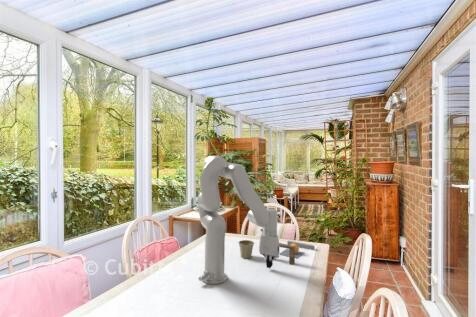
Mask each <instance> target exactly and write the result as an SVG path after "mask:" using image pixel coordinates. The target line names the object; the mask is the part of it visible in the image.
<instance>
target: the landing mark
mask: <svg viewBox="0 0 476 317" xmlns="http://www.w3.org/2000/svg"><path fill="white" fill-rule="evenodd" d="M303 253H304V254H305V252H304V251H300V250H299V251H298V252H297V253H296V254H295V259H299V258H300V257H301V256H303V255H304V254H303ZM279 256H285V257H289V249H287V248H285V249H284V250H283V251H281V252H279Z"/></svg>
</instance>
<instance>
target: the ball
mask: <svg viewBox="0 0 476 317" xmlns="http://www.w3.org/2000/svg"><path fill="white" fill-rule="evenodd" d="M291 245H292V246H295V254H296V253H297V252H298V251H300V247H298V245H297V244H291Z"/></svg>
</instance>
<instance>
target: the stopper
mask: <svg viewBox="0 0 476 317" xmlns="http://www.w3.org/2000/svg"><path fill="white" fill-rule="evenodd" d="M286 244H287V245H291V244H297V245H298V247H299V249H300V248H301V249H305V250H310V249H311V251H315V248H316V247H315V246H316V245H313V244H307V243H303V242H297V241H294V240H293V241H292V240H287V243H286Z"/></svg>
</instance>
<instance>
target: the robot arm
mask: <svg viewBox="0 0 476 317" xmlns="http://www.w3.org/2000/svg"><path fill="white" fill-rule="evenodd" d="M203 166H204V167H203V168H202V171H201V173H200V178H199V184H200V186H199V187H200V193H199V194H198V196H197V208H198V215H199V220H200V223H201V226H202V227H203V228H204V229H205V230H206V231H205V239H204V271H203V274H201V276H199V277H198V280H199V281H200V282H204V283H205V284H208V285H209V284H210V285H219V284H223V283H225V282H226V281H227V280H228V274H227V273H226V272H225V250H226V249H225V248H226V247H225V245H226V244H225V241H226V238H225V237H226V232H227V231H226V230H227V222H226V220H225V218H224V217H223V216H222V215H221V214H220V213H218V211H219V209H220V208H221V197H220V196H221V195H220V189H219V177H222V178H225V179H227V180H230V181H231V183H232V185H233V188H234V190H235V192H236V195H237V196H238V198H239V199H240V200H241V201H242V202H243V203H244V204H245V205H246V206H247V207H248V208H249V210H248V212H247V215H246V217H247V219H248V221H249V222H250V223H252V224H254V225H256V226H257V227H260V228H261V229H260V232H262V233H261V234H260V238H259V246H258V252H259V254H260V255H262V256H263V257H264V259H265V266H266V268H267V269H268V268H269V269H271V268H272V267H273V266H274V264H273V262H274V259H279V257H280V255H279V254H280V247H279V243H280V241H279V240H280V239H279V236H278V210H276V209H275V208H266V205H265V203H264V202H263V200H262V199H261V197H260V196H259V195H258V193H257V192H256V190H255V189H254V187H253V185H252V182H251V179H250V178H249V175H248V173H247V171H246V169H245V167H244V166H243V165H241V164H239V163H232V162H231V161H227V160H226V159H225V158H224V157H223V156H222V155H209V156H207V157H206V158H205V159H204V161H203ZM269 255H270V256H269Z"/></svg>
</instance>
